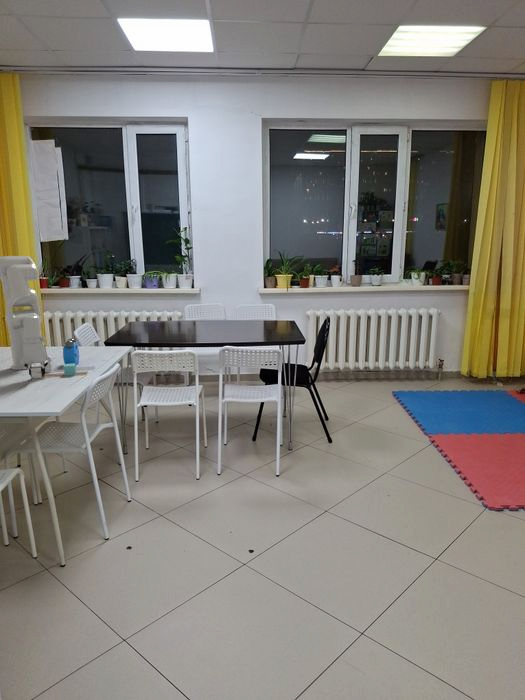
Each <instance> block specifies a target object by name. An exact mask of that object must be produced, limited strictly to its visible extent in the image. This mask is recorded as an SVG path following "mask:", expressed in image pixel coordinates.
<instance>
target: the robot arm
mask: <svg viewBox="0 0 525 700" xmlns="http://www.w3.org/2000/svg"><path fill="white" fill-rule="evenodd" d="M39 277H40V275H39V269H38V267H37V265H36V264H35V262H34V261H33V258H31V257H30V256H29V255H5V256H0V281H1V285H2V289H3V295H4V301H5V304H6V305H5V316H4V317H5V318H4V320H5V323H6V326H7V331H8V334H9V335H8V336H9V342H10V351H11V358H12V364H11V365H10V370H13V371H14V370H15V371H21V370H22V369H23V370H28V375H29V376H30V377H31V378H32V375H31V368H32V366H37V364H40V366H42V368H41V372H42V376H44V375H45V374H47V373H46V372H45V367H46V366H47V365H48V364H49V363H50V362H51V361H52V362H53V360H52V359H51V358H50V357H49V355H48V354H47V347H46V343H45V342H44V341H46V337H43V336H42V329H41V324H42V322H43V321H42V319H43V317H42V313H41V307H40V301H39V300H40V299H39V296H38V293H37V291H36V290H34V289H32V288H30V286H29V282H30V281H33V282H34V281H37V280H39ZM27 307H28V308H27ZM13 308H15V310H14V309H13ZM16 308H26V309H16ZM45 361H47V362H46V363H44V362H45Z"/></svg>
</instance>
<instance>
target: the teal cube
mask: <svg viewBox="0 0 525 700" xmlns="http://www.w3.org/2000/svg"><path fill="white" fill-rule="evenodd" d="M76 367H77V365H76V363H73V364H65V363H64V365H63V368H64V372H63V373H64V375H65V376H67V377H73V376H72V375H76V372H77V371H76Z"/></svg>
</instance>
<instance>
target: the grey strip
mask: <svg viewBox="0 0 525 700" xmlns="http://www.w3.org/2000/svg"><path fill="white" fill-rule="evenodd" d="M46 362H47V360H46V361H45V362H44V363H46ZM53 365H54V363H53V360H52V361H51V362H50V363H49V364H48V365H47V366H46V367H45V372H46V373H45V374H52V373H64V367H62V368H54V366H53ZM95 369H96V366H95V365H94V366H93V365H92V366H78V367H77V366H76V372H83V371H94V370H95Z"/></svg>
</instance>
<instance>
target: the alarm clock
mask: <svg viewBox="0 0 525 700" xmlns="http://www.w3.org/2000/svg"><path fill="white" fill-rule="evenodd" d="M62 346H63V347H62V358H63V364H64V365H65V364H73V363H76V366H78V365H79V362H80V349H79V345H78V342H77V340H76V339H74V338H68V339H67V340H66V341H65V342H64V344H63V345H62Z"/></svg>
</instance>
